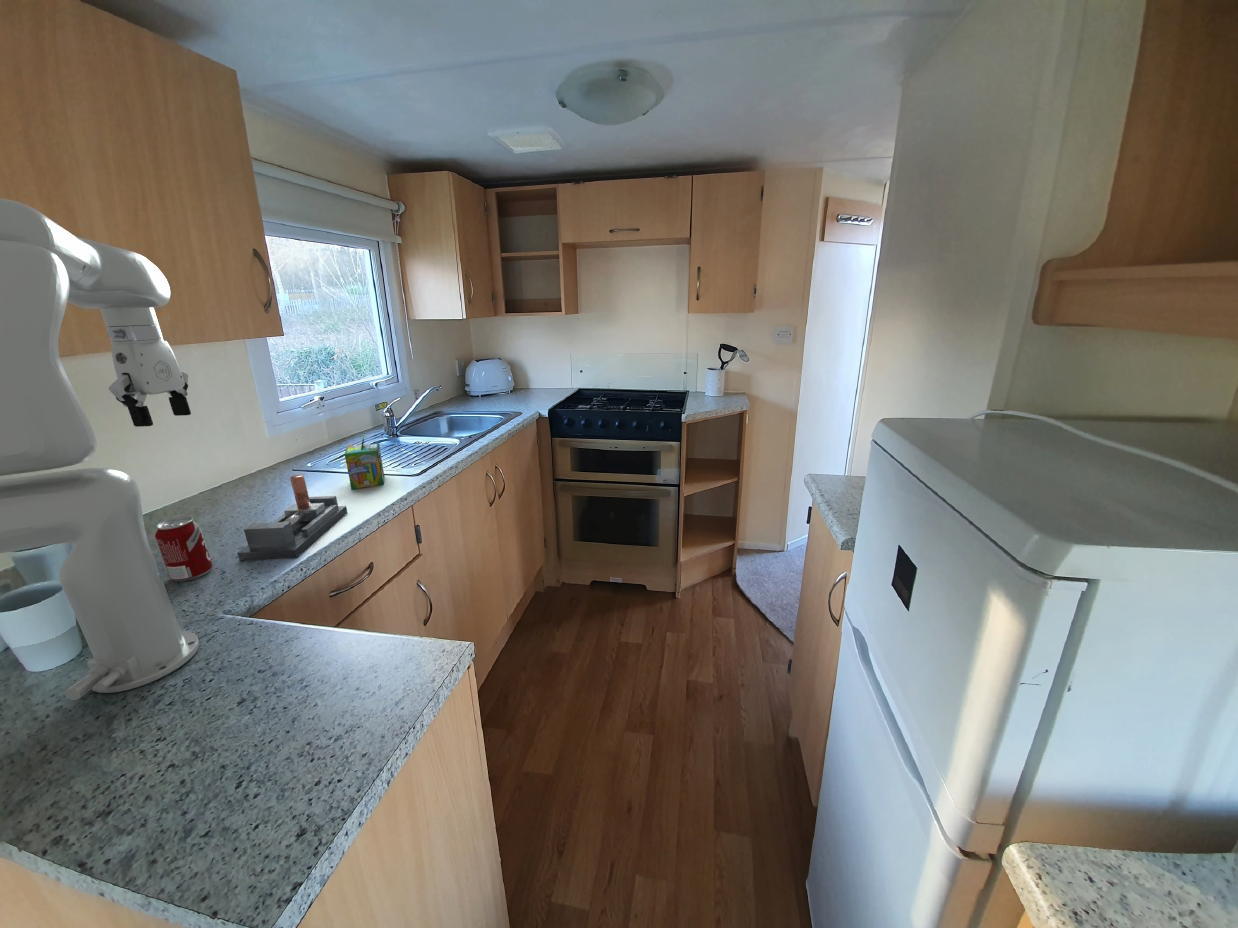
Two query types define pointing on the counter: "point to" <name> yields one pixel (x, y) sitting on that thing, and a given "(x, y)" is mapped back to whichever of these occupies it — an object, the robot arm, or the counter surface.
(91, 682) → the robot arm
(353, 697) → the counter surface
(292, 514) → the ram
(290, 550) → the base
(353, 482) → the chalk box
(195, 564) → the soda can
